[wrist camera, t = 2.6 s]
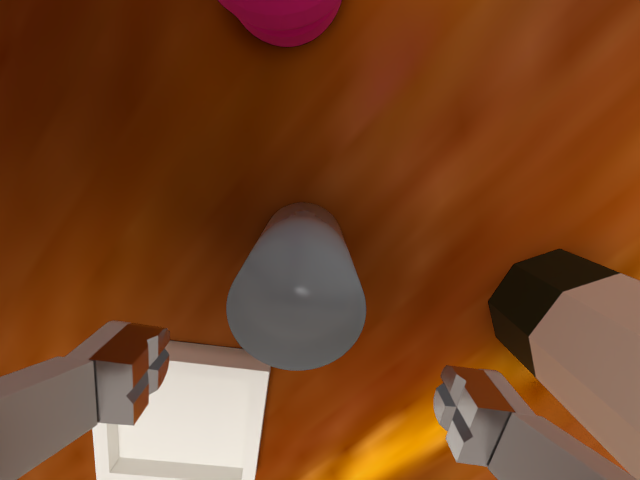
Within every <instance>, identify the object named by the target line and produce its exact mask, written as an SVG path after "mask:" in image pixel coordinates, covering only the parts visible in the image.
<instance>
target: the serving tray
mask: <svg viewBox="0 0 640 480" xmlns="http://www.w3.org/2000/svg"><path fill="white" fill-rule="evenodd" d="M165 349H166V350H167V352H168V353H169V355H170V356H169V366H168V371H167V373H166V376H165V378H164V381H163V383H162V384H161V386H160V387H159V389H158V390H157V391H155V392H153V393H152V394H150V395H149V404H148V405H147V407H146V408H145V410H144V411H143V413H142V414H141V416H140V417H139V419H138V420H137V422H136V423H135V425H134V426H132V425H119V424H107V423H98V424H97V425H96V426H95V427H94V428H92V430H93V442H94V454H95V466H96V479H97V480H255V477H256V471H257V465H258V457H259V450H260V443H261V435H262V428H263V421H264V413H265V406H266V399H267V391H268V384H269V377H270V369H271V366H269V365H267V364H264V363H262V362H261V361H259V360H257V359H255V358H254V357H252V356H251V355H250V354H248V353H247V352H246V351H245V350H244V349H238V348H230V347H221V346H213V345H204V344H196V343H187V342H179V341H170V342H169V343H168V344H167V346H166V347H165Z"/></svg>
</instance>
